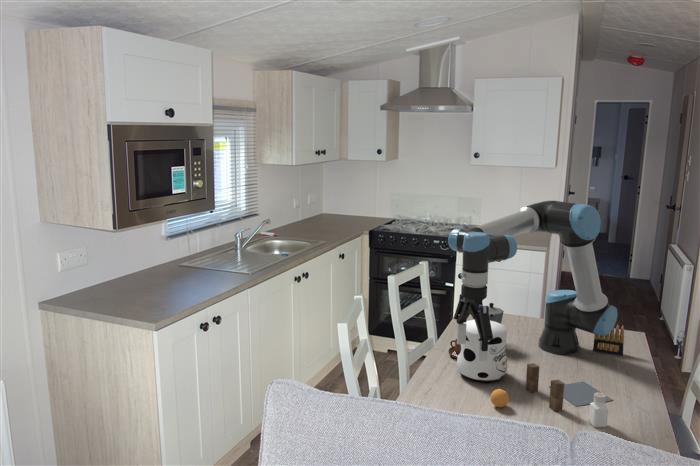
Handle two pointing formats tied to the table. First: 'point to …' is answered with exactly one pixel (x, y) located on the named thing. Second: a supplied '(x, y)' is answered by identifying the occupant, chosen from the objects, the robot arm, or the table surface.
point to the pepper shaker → (598, 411)
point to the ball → (499, 398)
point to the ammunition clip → (610, 342)
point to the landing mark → (580, 393)
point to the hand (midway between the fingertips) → (471, 351)
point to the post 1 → (532, 378)
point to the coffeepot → (495, 313)
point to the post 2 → (556, 395)
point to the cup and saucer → (454, 348)
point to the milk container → (496, 354)
